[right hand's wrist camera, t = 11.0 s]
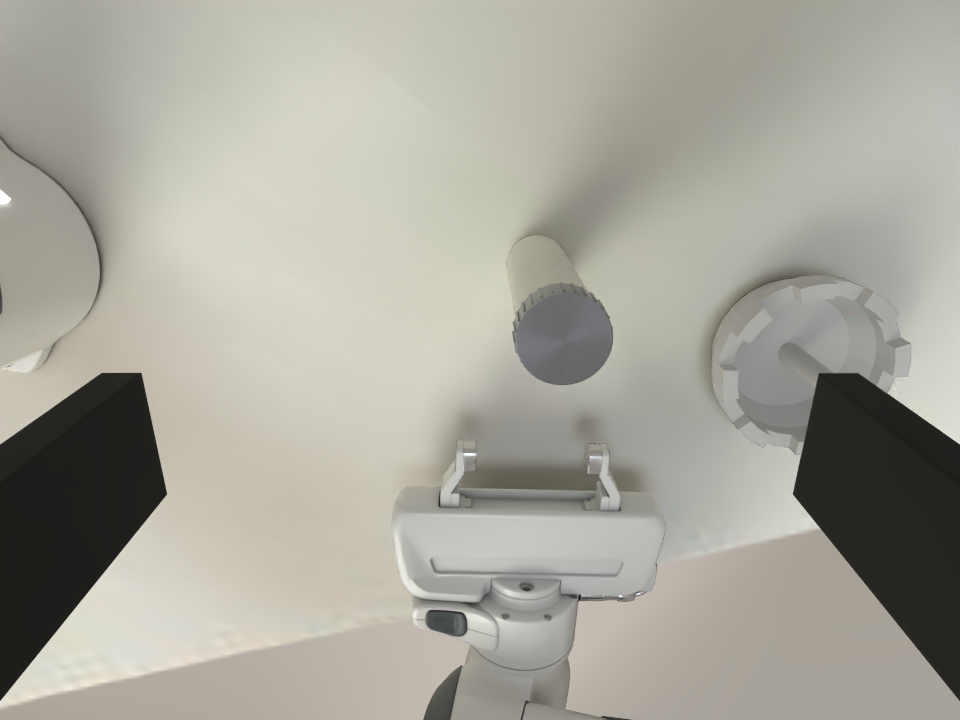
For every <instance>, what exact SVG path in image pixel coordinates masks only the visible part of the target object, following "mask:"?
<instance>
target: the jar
mask: <svg viewBox="0 0 960 720" xmlns="http://www.w3.org/2000/svg"><path fill="white" fill-rule="evenodd" d="M506 267H507V274H508V279H509V285H510V291H511V296H512V302H513V307H514V313H515V317H516V311H518V310H519V308H520V306H521V302H524V301H525V299H526V298H527V297H529V294H532V293H533V292H535V291H536V290H538V288H542V287H545V286H548V285H549V284H558V283H560V282H562V283H566V284H571V283H573V284H574V285H576V286H579V287H584V289H585V290H587V289H586V288H585V286H584V284H583V283H582V281H581V279H580V278H579V276H578V274H577V273H576V271H575V269H574V268H573V266H572V264H571V263H570V261H569V259H568V258H567V256H566V254H565V252H564V251H563V249H562V248H561V246H560V245H559V244H558V243H557V242H556V241H555V240H553V239H552V238H550V237H547V236H544V235H531V236H527V237H525V238H523V239H521V240H519V241H518V242H517V243H516V244H515V245H514V246H513V247H512V249H511V250H510V252H509V254H508V258H507V266H506Z"/></svg>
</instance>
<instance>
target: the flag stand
mask: <svg viewBox="0 0 960 720" xmlns="http://www.w3.org/2000/svg"><path fill="white" fill-rule="evenodd" d="M898 314H899V313H898V312H897V310H896V309H895V308H894V307H893V306H892V305H891V304H890V303H889V302H888V301H887V300H885V299H884V298H882V297H881V296H879V295H878V294H876V293H875V292H873V291H871V290H868V289H866V288H864V287H862V286H860V285H858V284H856V283H853V282H850V281H848V280H845V279H842V278H839V277H833V276H825V275H812V276H801V277H797V278H793V279H783V280H779V281H775V282H771V283H768V284H765V285H763V286H761V287H759V288H756V289H754V290H753V291H751V292H750V293H748V294H747V295H745V296H744V297H742V298H741V299H740V300H739V301H738V302H737V303H736V304H735V305H734V306H733V307H732V308H731V309H730V310H729V311H728V313H727V314H726V315H725V317H724V318H723V319H722V321H721V323H720V325H719V327H718V329H717V331H716V334H715V338H714V341H713V345H712V357H711V358H712V372H711V376H712V383H713V390H714V393H715V395H716V398H717V400H718V403H719V405H720V406H721V408H722V409H723V411H724V412H725V413H726V415H727V416H728V418H729V419H730V420H731V421H732V422H733V424H734V425H735V426H736V427H737V429H738V430H739V431H740V432H741V433H742V434H744V435H745V436H746V437H747V438H748V439H749V440H750V441H752V442H754V443H756V444H757V445H759V446H761V447H763V448H764V447H765V445H766V444H770V445H774V446H782V447H789V448H790V449H791V450H792V452H793V453H794V454H795V455H801V454H802V449H803V444H804V440H805V435H806V430H807V426H808V421H809V416H810V411H811V407H812V402H813V397H814V393H815V388H816V383H817V378H818V374H819V373H859V374H860V375H862V376H863V377H864V378H866V379H867V380H869V381H870V382H872V383H873V384H874V385H876V386H877V387H879V388H880V389H882V390H883V391H884V392H886V393H888V391H889V389H890V388H891V386H892V384H893V381H894V379H895V376H896V377H908V373H909V368H910V363H911V343H909V342H907V341H906V340H904V339H902V338H901V337H900V333H899V329H898V326H897V322H896V320H895V318H894V317H895V316H896V315H898Z"/></svg>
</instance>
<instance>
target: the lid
mask: <svg viewBox="0 0 960 720" xmlns="http://www.w3.org/2000/svg"><path fill="white" fill-rule="evenodd" d="M609 319H610V317H609V315H608V314H607V312H606V311H605V308H604V307H603V305H602V303H601V302H600V300H599V299H598V300H597V299H596V298H595V296H594V294H593V293H592V292H588V291H587V290H585V289H584V287H579V286H576V285H574V284H573V283H571V284H566V283H562V282H560V283H558V284H549V285H548V286H545V287H542V288H538V290H536V291H535V292H533V293H532V294H529V297H527V298H526V299H525V301H524V302H521V306H520V308H519V310H518V311H516V317H515V321H513V327H514V332H512V333H513V340H514V344H515V350H516V353H518V356H519V359H520V362H521V363H522V364H523V366H524V367H525V368H526V370H527V371H528V372H529V373H530V374H532V375H533V376H534V377H536V378H537V379H539V380H541V381H544V382H546V383H550V384H555V385H569V384H574V383H578V382H581V381H583V380H585V379H587V378H589V377H591V376H592V375H594V374H595V373H596V372H597V371H598V370H599V369H600V368H601V367H602V366H603V365H604V363H605V362H606V360H607V358H608V356H609V354H610V352H611V349H612V344H613V330H612V329H613V327H612V325H611V323H610V320H609Z"/></svg>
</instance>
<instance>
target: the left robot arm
mask: <svg viewBox="0 0 960 720" xmlns="http://www.w3.org/2000/svg"><path fill="white" fill-rule="evenodd" d="M99 280H100V264H99V256H98V251H97V247H96V243H95V240H94V237H93V235H92V232H91V230H90V228H89V225H88V223H87V222H86V220H85V218H84V216H83V215H82V213H81V211H80V210H79V208H78V207H77V205H76V204H75V203H74V202H73V200H72V199H71V198H70V197H69V195H68V194H67V193H66V192H65V191H64V190H63V189H62V188H61V187H60V186H59V185H58V184H57V183H56V182H55V181H53V180H52V179H51V178H50V177H49V176H47V175H46V174H45V173H43V172H42V171H41V170H39V169H38V168H36V167H34V166H33V165H31V164H30V163H28V162H26V161H25V160H23V159H22V158H20V157H19V156H17V155H16V154H14V153H13V152H12V151H11V150H9V149H8V147H7V146H6V145H5V144H4V143H3V141H2V140H1V139H0V369H3V370H8V371H13V372H19V373H28V372H30V371H33V370H35V369H38V368H39V367H41V366H42V365H43V363H44V362H45V360H46V359H47V357H48V355H49V353H50V351H51V349H52V346H53V344H54V343H55V342H56V341H57V340H58V339H59V338H60V337H62V336H63V335H65V334H66V333H68V332H69V331H71V330H72V329H73V328H75V327H76V326H77V325H78V324H79V323H80V322H81V321H82V320H83V319H84V318H85V316H86V315H87V314H88V312H89V311H90V309H91V307H92V305H93V303H94V301H95V298H96V295H97V291H98V287H99ZM585 450H586V453H585V455H584V464H585V466H586V471H587V474H591V475H599V477H600V479H601V481H598V482H597V483H596V491H581V490H536V489H490V488H460V479H461V477H462V476H463V474H464V473H465V472H476V459H477V441H473V440H457V450H456V459H455V460H454V461H453V463H452V464H451V465H450V467H449V468H448V470H447V471H446V472H445V474H444V475H443V477H442V482H441V487H406V488H405V489H404V490H403V491H402V492H401V493H400V494H399V495H398V496H397V498H396V500H395V504H394V509H393V515H392V536H393V545H394V552H395V559H396V564H397V568H398V573H399V576H400V579H401V581H402V583H403V585H404V587H405V588H406V589H407V590H408V591H409V592H410V593H411V619H412V623H413V624H414V625H415V626H417V627H419V628H421V629H424V630H428V631H431V632H435V633H439V634H442V635H446V636H449V637H452V638H455V639H458V640H461V641H463V642H466V643H468V644H470V648H469V651H468V653H467V657H466V662H465V666H460V667H458V668H457V669H456V670H454V671H453V672H452V673H451V674H450V675H449V676H448V677H447V678H446V679H445V680H444V682H443V683H442V684H441V685H440V686H439V687H438V688H437V689H436V691H435V693H434V694H433V696H432V698H431V700H430V703H429V705H428V707H427V710H426V713H425V716H424V720H629V719H622V718H614V717H606V716H602V717H597V716H592V715H588V714H583V713H579V712H574V711H569V710H565V707H566V702H567V696H568V689H569V680H570V667H569V662H568V658H567V657H568V655H569V653H570V651H571V649H572V645H573V641H574V634H575V625H576V616H577V606H578V602H579V601H604V600H617V601H622V602H626V601H632V600H634V599H635V597H636V596H640V595H643V594H645V593H646V592H649V591H651V590H652V589H653V587H654V584H655V578H656V572H657V563H656V562H657V560H658V556H659V553H660V550H661V547H662V543H663V539H664V535H665V528H666V525H665V520H664V517H663V514H662V512H661V510H660V508H659V506H658V504H657V503H656V502H655V500H654V499H653V498H652V497H651V496H650V495H649V494H648V493H646V492H627V491H618V488H617V486H616V483H615V480H614V479H613V477H612V475H611V473H610V471H609V469H608V468H609V459H610V454H609V449H608V447H607V444H603V443H586V446H585Z"/></svg>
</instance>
